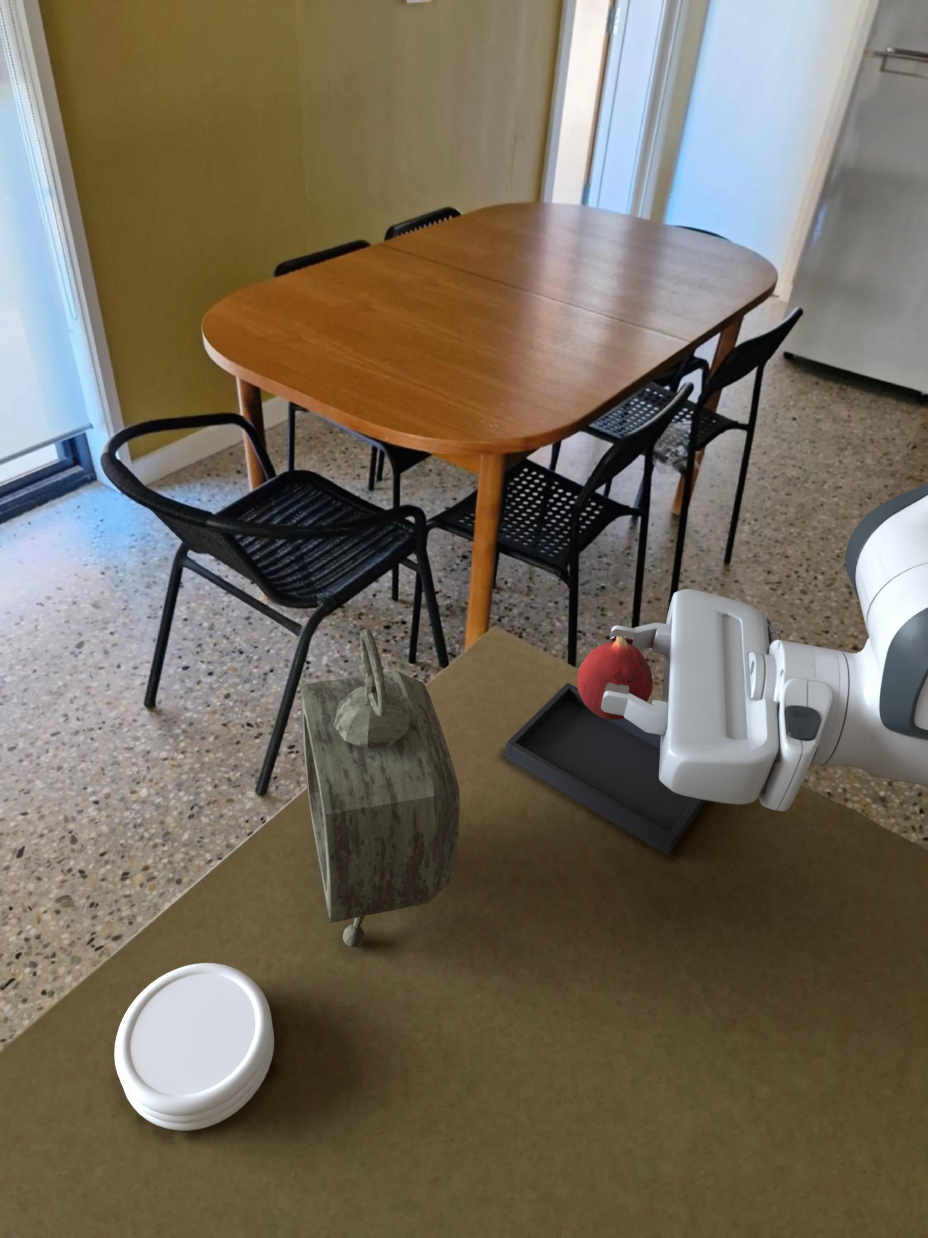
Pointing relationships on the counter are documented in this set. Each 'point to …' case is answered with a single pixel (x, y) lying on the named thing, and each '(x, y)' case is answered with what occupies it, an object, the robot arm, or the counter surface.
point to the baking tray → (603, 768)
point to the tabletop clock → (378, 792)
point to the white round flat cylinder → (194, 1046)
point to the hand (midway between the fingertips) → (606, 666)
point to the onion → (613, 674)
